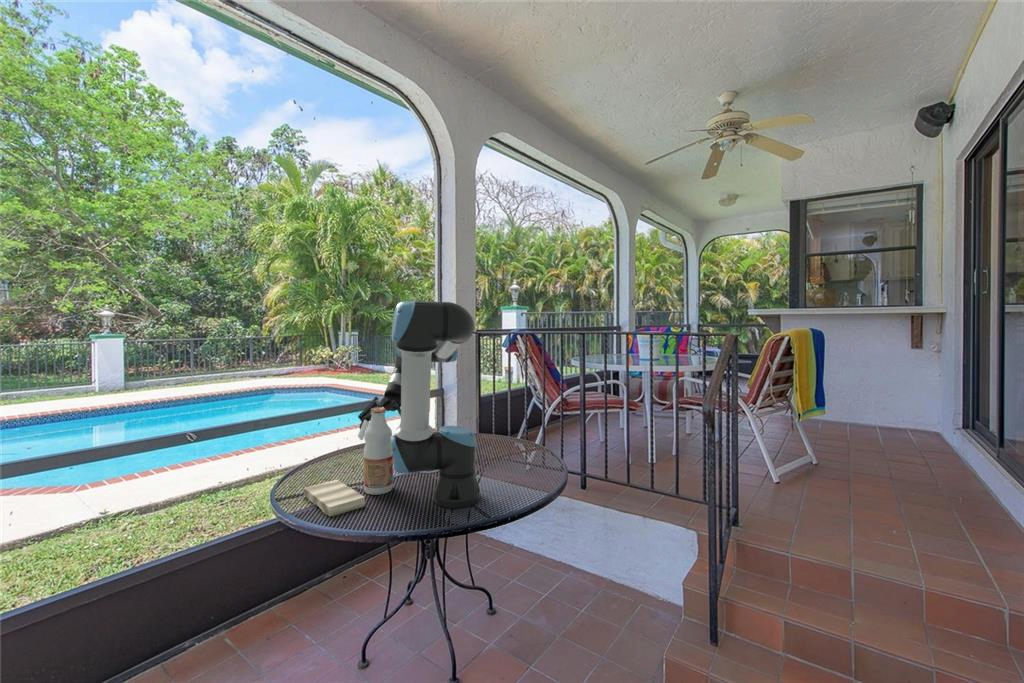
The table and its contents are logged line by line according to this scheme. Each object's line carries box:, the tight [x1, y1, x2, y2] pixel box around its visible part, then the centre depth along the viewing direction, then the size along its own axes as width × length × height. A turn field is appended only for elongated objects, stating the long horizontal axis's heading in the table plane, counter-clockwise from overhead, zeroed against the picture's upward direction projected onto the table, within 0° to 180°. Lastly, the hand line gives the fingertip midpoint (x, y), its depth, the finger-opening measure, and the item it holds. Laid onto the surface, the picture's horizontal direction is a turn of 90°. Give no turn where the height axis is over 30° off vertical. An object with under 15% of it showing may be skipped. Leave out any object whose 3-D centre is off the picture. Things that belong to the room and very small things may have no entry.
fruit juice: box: [363, 406, 394, 496], centre depth 151 cm, size 9×9×28 cm
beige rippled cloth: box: [303, 479, 366, 518], centre depth 142 cm, size 20×11×3 cm, turn 45°
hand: (378, 439), depth 152 cm, fingers open, 13 cm apart
